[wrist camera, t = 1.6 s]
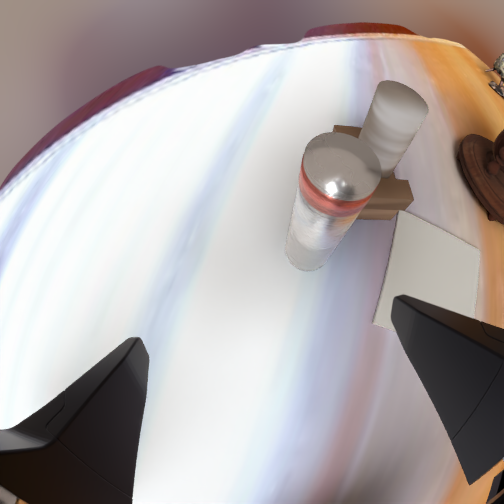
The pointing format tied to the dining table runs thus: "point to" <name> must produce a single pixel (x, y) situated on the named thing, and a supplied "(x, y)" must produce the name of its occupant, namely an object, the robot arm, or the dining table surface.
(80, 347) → the dining table surface
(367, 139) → the white candle wooden holder
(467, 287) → the grey mat
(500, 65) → the stone figurine
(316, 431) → the dining table surface
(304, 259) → the silver cylinder copper band
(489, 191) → the beaded wooden stand
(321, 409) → the dining table surface
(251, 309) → the dining table surface
